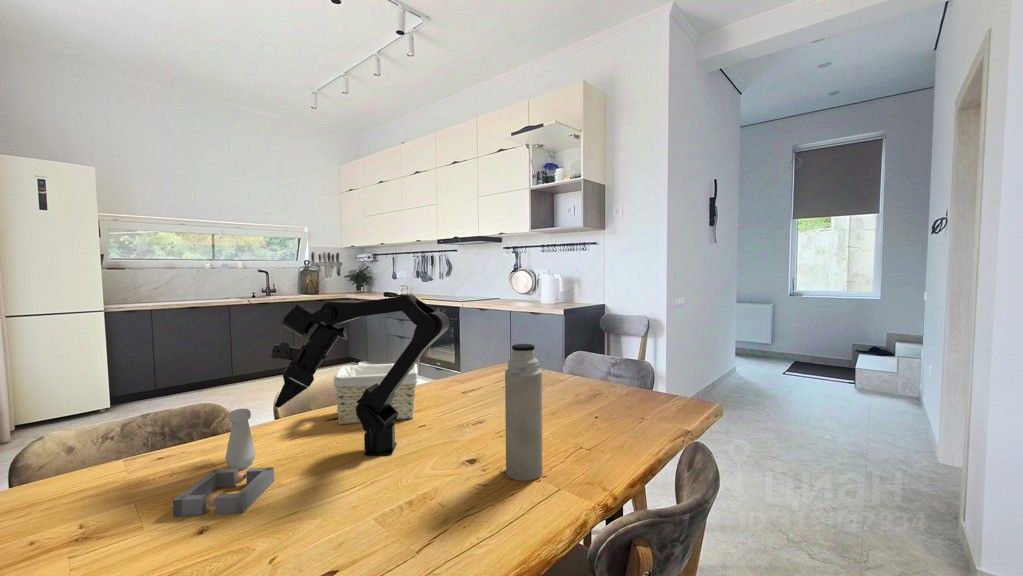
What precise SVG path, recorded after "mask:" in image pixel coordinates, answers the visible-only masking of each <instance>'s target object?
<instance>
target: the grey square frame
mask: <svg viewBox="0 0 1023 576" xmlns="http://www.w3.org/2000/svg"><path fill="white" fill-rule="evenodd" d="M245 473H246V478H245V479H246V485H245V486H244V487H243V488H242V489H241V490H240V491H239V492H235V493H232V492H231V493H219V495H218V496H217V497H216V498H215V505H214V514H215V515H227V514H229V515H230V514H243V513H244V512H246V510H247V509H248V508H249V507H251V506H252V504H253V503H254V502H255V501H257V499H259V497H260V496H261V495H262V494H263V493H264V492H265V491H266V490H267V489H268V488H269V487H270V486H271V485H273V483H274V482H275V467H273V466H272V467H250V468H249V469H248V470H246V471H245ZM238 474H239V470H238V469H230V468H225V469H213V470H211V471H210V472H209V473H208V474H206V475H205V476H204V477H202V478H201V479H199V480H198V481H197V482H195V483H194V484H193V485H191V486H190V487H189V488H187V489H186V490H184V491H183V492H182V493H180V494H179V495H178V496H176V497H175V498H174V499H172V510H173V511H172V516H173V517H189V516H190V517H191V516H202V515H203V514H204V513H206V512H207V510H208V509H207V497H208V496H209V495H210V494H211V493H213V491H215V490H216V489H218V488H227V487H228V488H230V487H235V486H237V485H238V484H239V483H235V482H234V477H235V476H237V475H238Z"/></svg>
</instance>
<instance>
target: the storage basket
mask: <svg viewBox="0 0 1023 576" xmlns="http://www.w3.org/2000/svg"><path fill="white" fill-rule="evenodd" d="M394 364H395V363H378V364H373V363H372V364H357V365H356V364H355V365H347V366H345V365H342V366H341V367H340V368H339V369H338V370H337V372H336V373H335V376H334V378H333V387H335V395H336V407H337V408H336V411H337V417H338V424H340V425H347V424H348V425H349V424H357V423H358V424H361V421H360V419H359V418H358V417H357V414H356V407H357V405H358V404H359V403H357V402H356V401H358V400H359V399H360V398H361V397H362V395H363V393H364V392H365V390H366V389H367V388H369V387H371V386H372V385H374V384H376V383H377V384H378V385H379V384H380V383H381V382H382V380H383V379H384V378H385V376H386V375H387V374H388V372H389V371H390V369H391V368H392V367H393V365H394ZM417 384H418V364H417V363H416V364H415V365H414V366H413V368H412V369H411V370H410V372H409V373H408V374H407V376H406V377H405V379H404V380H403V381H402V383H401V384H400V385H399V387H398V388H397V389H396V391H395V394H394V397H393V400H392V402H391V405H392V406H393V407H394V408H395V410H396V411H397V412H398V416H397V419H396V420H407V419H413V418H414V417H415V415H414V410H415V397H416V385H417Z"/></svg>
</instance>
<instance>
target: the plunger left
mask: <svg viewBox="0 0 1023 576" xmlns="http://www.w3.org/2000/svg"><path fill="white" fill-rule="evenodd" d="M219 494H220V493H218V492H217V493H214V494H212V495H211V496H209V498H207V499H206V505H207V506H208V507H215V498H216V497H217V496H218V495H219Z"/></svg>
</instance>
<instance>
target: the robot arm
mask: <svg viewBox="0 0 1023 576" xmlns="http://www.w3.org/2000/svg"><path fill="white" fill-rule="evenodd" d="M398 312H402V313H403V314H405V316H406V317H407V318H408V319H409V320H410V322H412V323H413V324H414V325H415V326H416V327H415V329H414V330H413V334H412V338H411V341H410V342H409V344H408V345H407V346H406V347H405V349H404V350H403V351H402V353H401V354H400V355H399V356H398V359H397V360H396V361H395V363H393V364H394V365H393V367H392V368H391V369H390V371H389V372H388V374H387V375H386V376H385V378H384V379H383V380H382V382H381V383H380V384H379V385H378V384H377V383H376V384H374V385H372V386H371V387H369V388H367V389H366V390H365V392H364V393H363V395H362V397H361V398H360V399H359V400H358V401H356V402H357V403H359V404H358V405H357V407H356V414H357V417H358V418H359V419H360V421H361V422H360V424H361V426H362V429H363V432H364V435H363V440H364V441H363V442H364V443H363V444H364V445H363V446H364V447H363V449H364V451H365V452H364V456H385V455H387V456H388V455H393V453H394V452H395V449H396V446H397V442H396V436H395V435H396V430H395V428H396V425H395V421H397V420H398V419H397V416H398V412H397V411H396V410H395V408H394V407H393V406H392V405H391V402H392V400H393V397H394V394H395V391H396V389H397V388H398V387H399V385H400V384H401V383H402V381H403V380H404V379H405V377H406V376H407V374H408V373H409V372H410V370H411V369H412V368H413V366H414V365H415V364H417V362H418V361H419V360H420V358H421V357H422V355H423V354H424V353H425V351H427V349H428V348H429V347H430V346H432V344H434V343H435V342H436V341H437V340H439V338H440V337H441V336H443V334H445V333H446V332H447V331H448V329H449V328H450V319H449V317H448V315H447V314H446V313H445V312H442V311H440V310H436V309H435V308H433V307H432V306H430V305H429V304H427V303H425V302H423V301H422V300H420V299H419V298H418V297H417V296H416V295H414V294H413V293H412V294H411V293H409V294H407V293H406V294H401V295H400V296H395V297H394V296H393V297H387V298H379V299H372V300H366V301H361V300H360V301H359V300H358V301H356V300H345V299H344V300H333V301H332V300H331V301H327V302H324V303H323V304H322V306H321V307H320V309H319V310H317V311H313V310H311V309H309V308H308V307H307V306H306V305H304V304H302V303H298V304H295V307H294V308H293V309H291V310H290V311H289V312H288V313H287V314H286V315H285V316H284V318H283V320H282V326H283V327H285V328H286V329H288V330H289V331H291V332H293V333H295V334H297V335H298V336H300V337H302V338H306V337H309V338H308V339H307V341H305V343H304V344H303V343H302V345H301V346H300V347H296V346H290V342H283V341H282V342H281V343H280V344H277V343H273V345H272V348H271V351H270V352H271V353H270V355H269V356H270V357H269V358H270V359H276V360H277V359H280V360H287V361H289V363H288V364H287V365H286V368H285V370H284V372H283V373H282V378H283V385H282V388H281V390H280V392H279V394H278V396H277V398H276V402H275V404H274V407H275V408H277V409H279V408H281V407H282V406H284V405H286V404H287V403H288V402H289V401H291V400H292V399H294V398H295V397H296V396H298V395H299V394H301V393H303V391H305V390H307V389H308V388H310V386H311V385H312V384H313V382H314V380H315V377H314V376H315V373H316V372H317V370H318V368H319V367H320V366H321V364H322V363H323V361H324V360H325V359H326V358H327V355H328V354H329V352H330V351H331V349H332V348H333V346H334V345H335V343H336V342H337V341H338V339H339V338H342V339H343V340H345V341H348V339H349V337H348V335H347V334H348V333H347V328H345V327H341V328H340V327H337V326H335V325H339V324H344V323H348V322H351V321H354V320H357V319H359V318H361V317H367V316H368V317H369V316H374V315H375V316H376V315H382V314H388V313H398ZM323 323H324V324H323Z"/></svg>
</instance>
